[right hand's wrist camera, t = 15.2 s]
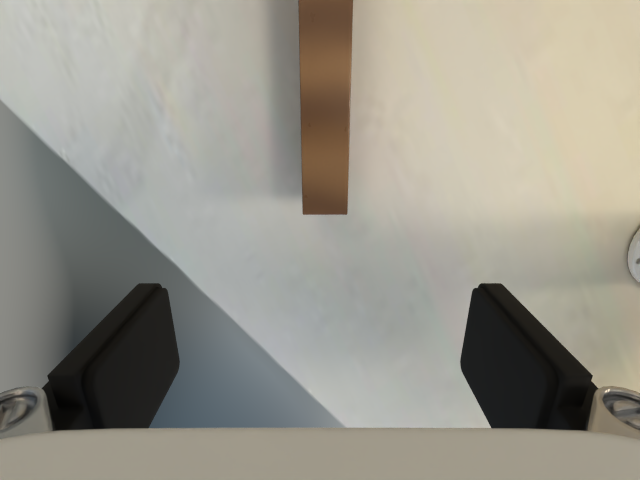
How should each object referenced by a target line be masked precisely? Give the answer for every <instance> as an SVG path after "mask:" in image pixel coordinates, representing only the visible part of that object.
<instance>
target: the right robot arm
mask: <svg viewBox="0 0 640 480" xmlns="http://www.w3.org/2000/svg"><path fill="white" fill-rule="evenodd" d="M628 267H629V270H630V272H631V274H632V276H633V277H634V278H635V279H636V281H638V282H639V283H640V228H639V230H638V231H637V233H636V234H635V236H634V237H633V240H632V242H631V244H630V247H629V251H628ZM179 363H180V361H179V354H178V348H177V343H176V337H175V331H174V325H173V319H172V313H171V307H170V302H169V296H168V291H167V289H166V288H162V286H161V285H160V284H158V283H157V284H156V283H154V284H153V283H151V284H150V283H148V284H147V283H145V284H144V283H141V284H138V285H137V286H136V287H135V288H134V289H133V290H132V291H131V292H130V293H129V294H128V295H127V296H126V297H125V298H124V299H123V300H122V301H121V302H120V303H119V304H118V305H117V306H116V307H115V308H114V309H113V310H112V311H111V312H110V313H109V314H108V315H107V316H106V317H105V318H104V319H103V320H102V321H101V322H100V323H99V324H98V325H97V326H96V327H95V328H94V329H93V330H92V331H91V332H90V333H89V334H88V335H87V336H86V337H85V338H84V339H83V340H82V341H81V342H80V343H79V344H78V345H77V346H76V347H75V348H74V349H73V350H72V351H71V352H70V353H69V354H68V355H67V356H66V357H65V358H64V359H63V360H62V361H61V362H60V363H59V364H58V365H57V366H56V367H55V369H53V371H51V373H50V374H49V375H48V379H49V382H48V383H47V384H46V385H45V386H44V387H43V388H42V389H41V388H38V387H32V386H26V387H19V388H14V389H11V390H8V391H4V392H2V393H0V480H640V393H638V392H636V391H632V390H629V389H626V388H621V387H614V386H608V387H602V388H599V389H598V388H597V387H596V386H595V385H594V384H593V383H592V382H591V379H592V375H591V374H590V373H589V372H588V370H587V369H586V368H585V367H584V366H583V365H582V364H581V363H580V362H579V361H578V360H577V359H576V358H575V357H574V356H573V355H572V354H571V353H570V352H569V351H568V350H567V349H566V348H565V347H564V346H563V345H562V344H561V343H560V342H559V341H558V340H557V339H556V338H555V337H554V336H553V335H552V334H551V333H550V332H549V331H548V330H547V329H546V328H545V327H544V326H543V325H542V324H541V323H540V322H539V321H538V320H537V319H536V318H535V317H534V316H533V315H532V314H531V313H530V312H529V311H528V310H527V309H526V308H525V307H524V306H523V305H522V304H521V303H520V302H519V301H518V300H517V299H516V298H515V297H514V296H513V295H512V294H511V293H510V292H509V291H508V290H507V289H506V288H505V287H504V286H503V285H502V284H499V283H481V284H480V285H479V286H478V288H474V289H473V291H472V296H471V302H470V307H469V313H468V319H467V325H466V331H465V337H464V343H463V348H462V354H461V361H460V363H461V370H462V372H463V374H464V376H465V378H466V380H467V382H468V384H469V386H470V388H471V390H472V392H473V394H474V395H475V397H476V399H477V401H478V403H479V405H480V407H481V409H482V411H483V413H484V415H485V416H486V418H487V420H488V422H489V424H490V426H491V428H149V426H150V424H151V422H152V420H153V418H154V416H155V415H156V413H157V411H158V409H159V407H160V405H161V403H162V401H163V399H164V397H165V395H166V393H167V392H168V390H169V388H170V386H171V384H172V382H173V380H174V378H175V376H176V374H177V372H178V369H179Z"/></svg>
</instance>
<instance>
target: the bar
mask: <svg viewBox="0 0 640 480" xmlns="http://www.w3.org/2000/svg"><path fill="white" fill-rule="evenodd" d="M352 16H353V0H299V49H300V100H301V151H302V202H303V215H346V214H347V206H348V168H349V130H350V92H351V54H352Z"/></svg>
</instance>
